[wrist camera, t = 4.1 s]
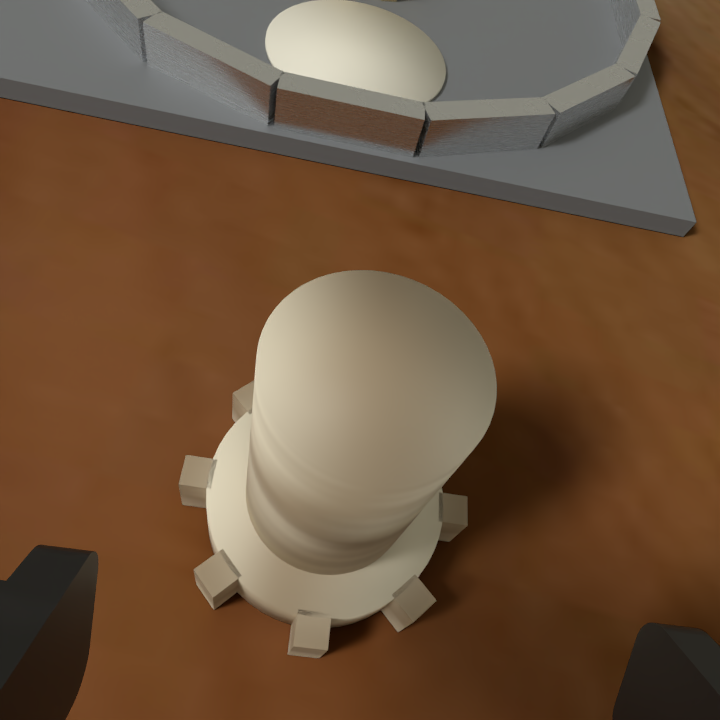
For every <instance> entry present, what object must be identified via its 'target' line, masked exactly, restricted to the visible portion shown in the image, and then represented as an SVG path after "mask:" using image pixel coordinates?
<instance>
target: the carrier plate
mask: <svg viewBox="0 0 720 720" xmlns="http://www.w3.org/2000/svg"><path fill="white" fill-rule="evenodd" d="M151 1H152V2H153V3H154V4H155V5H156V6H157V7H158V8H159V9H160V10H161V11H162V12H164V13H166V14H168V15H170V16H172V17H175V18H177V19H179V20H181V21H183V22H185V23H187V24H189V25H191V26H193V27H195V28H197V29H199V30H201V31H203V32H205V33H207V34H209V35H211V36H213V37H215V38H217V39H219V40H221V41H223V42H225V43H227V44H229V45H231V46H233V47H235V48H237V49H239V50H241V51H243V52H245V53H247V54H249V55H251V56H253V57H255V58H257V59H259V60H261V61H263V62H265V63H267V64H269V65H271V66H273V67H275V68H278V69H280V70H282V71H284V72H288V73H293V74H297V75H302V76H306V77H311V78H315V79H320V80H324V81H329V82H334V83H338V84H343V85H347V86H352V87H356V88H361V89H365V90H370V91H375V92H379V93H384V94H388V95H393V96H397V97H402V98H406V99H411V100H416V101H420V102H439V101H463V100H486V99H509V98H533V97H544V96H546V95H548V94H550V93H552V92H555V91H557V90H559V89H561V88H563V87H566V86H568V85H570V84H572V83H574V82H577V81H579V80H581V79H583V78H585V77H588V76H590V75H592V74H594V73H596V72H599V71H601V70H603V69H605V68H607V67H609V66H612V65H613V64H614V62H615V60H616V58H617V56H618V54H619V52H620V50H621V48H622V47H621V43H620V39H619V35H618V31H617V28H616V24H615V20H614V16H613V12H612V8H611V4H610V0H397V1H396V2H389V1H381V0H151ZM0 97H2V98H7V99H12V100H17V101H22V102H27V103H31V104H36V105H41V106H46V107H51V108H56V109H61V110H66V111H71V112H75V113H80V114H85V115H90V116H95V117H100V118H105V119H110V120H115V121H119V122H124V123H129V124H134V125H139V126H144V127H149V128H154V129H159V130H164V131H168V132H173V133H178V134H183V135H188V136H193V137H198V138H203V139H208V140H212V141H217V142H222V143H227V144H232V145H237V146H242V147H247V148H252V149H256V150H261V151H266V152H271V153H276V154H281V155H286V156H291V157H296V158H300V159H305V160H310V161H315V162H320V163H325V164H330V165H335V166H340V167H344V168H349V169H354V170H359V171H364V172H369V173H374V174H379V175H384V176H389V177H393V178H398V179H403V180H408V181H413V182H418V183H423V184H428V185H433V186H437V187H442V188H447V189H452V190H457V191H462V192H467V193H472V194H477V195H481V196H486V197H491V198H496V199H501V200H506V201H511V202H516V203H521V204H525V205H530V206H535V207H540V208H545V209H550V210H555V211H560V212H565V213H570V214H574V215H579V216H584V217H589V218H594V219H599V220H604V221H609V222H614V223H618V224H623V225H628V226H633V227H638V228H643V229H648V230H653V231H658V232H662V233H667V234H672V235H677V236H682V237H684V235H685V234H686V233H687V232H688V231H689V230H690V229H691V228H692V227H693V226H694V224H695V223H696V219H695V216H694V212H693V209H692V205H691V202H690V199H689V195H688V192H687V188H686V185H685V182H684V178H683V175H682V171H681V168H680V165H679V161H678V158H677V155H676V151H675V148H674V144H673V141H672V138H671V134H670V131H669V127H668V124H667V121H666V117H665V114H664V110H663V107H662V104H661V100H660V97H659V93H658V90H657V87H656V83H655V80H654V76H653V73H652V70H651V66H650V63H649V59H648V56H647V54H646V56H645V59H644V61H643V63H642V65H641V67H640V70H639V72H638V74H637V76H636V77H635V79H634V81H633V82H632V84H631V86H630V87H629V89H628V90H627V92H626V94H625V95H624V97H623V98H622V100H621V102H620V103H619V105H618V107H617V108H615V110H614V111H612V112H610V113H608V114H606V115H604V116H602V117H600V118H598V119H596V120H595V121H593V122H591V123H589V124H587V125H585V126H583V127H581V128H579V129H577V130H575V131H573V132H571V133H569V134H567V135H566V136H564V137H562V138H560V139H558V140H556V141H554V142H552V143H550V144H548V145H546V146H544V147H542V148H541V147H540V146H538V148H537V149H532V150H518V151H505V152H491V153H477V154H464V155H450V156H436V157H423V158H419V157H418V155H417V153H416V151H415V152H414V155H413V157H409V156H404V155H399V154H394V153H389V152H385V151H380V150H375V149H370V148H366V147H361V146H356V145H351V144H346V143H342V142H337V141H332V140H327V139H322V138H318V137H313V136H308V135H303V134H298V133H294V132H289V131H284V130H279V129H275V128H274V121H275V120H273V121H272V122H271V123H270V124H269V125H268V126H266V125H264V124H262V123H260V122H258V121H256V120H255V119H253V118H251V117H249V116H247V115H245V114H243V113H241V112H239V111H237V110H235V109H233V108H231V107H229V106H227V105H225V104H223V103H221V102H219V101H217V100H215V99H213V98H211V97H209V96H207V95H205V94H203V93H201V92H199V91H197V90H195V89H193V88H191V87H189V86H188V85H186V84H184V83H182V82H180V81H178V80H176V79H174V78H172V77H170V76H168V75H166V74H164V73H162V72H160V71H158V70H156V69H154V68H152V67H150V66H148V64H147V61H145V62H143V61H142V60H141V59H140V58H139V57H138V56H137V55H136V54H135V53H134V52H133V51H132V50H131V48H130V47H129V46H128V45H127V44H126V43H125V42H124V41H123V40H122V39H121V38H120V37H119V36H118V35H117V34H116V32H115V31H114V30H113V29H112V28H111V27H110V26H109V25H108V24H107V23H106V22H105V21H104V20H103V19H102V17H101V16H100V15H99V14H98V13H97V12H96V11H95V10H94V9H93V8H92V7H91V6H90V5H89V4H88V3H87V1H86V0H0Z"/></svg>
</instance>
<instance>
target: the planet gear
mask: <svg viewBox="0 0 720 720" xmlns="http://www.w3.org/2000/svg"><path fill="white" fill-rule="evenodd" d="M496 395H497V383H496V374H495V369H494V365H493V361H492V358H491V356H490V353H489V351H488V348H487V346H486V344H485V342H484V340H483V338H482V337H481V335H480V333H479V332H478V330H477V329H476V328H475V326H474V325H473V323H472V322H471V321H470V320H469V319H468V318H467V317H466V315H465V314H464V313H463V312H462V311H461V310H460V309H459V308H457V307H456V306H455V305H454V304H453V303H452V302H451V301H449V300H448V299H446V298H445V297H444V296H442V295H441V294H440V293H438V292H436V291H434V290H433V289H431V288H429V287H428V286H425V285H423V284H421V283H419V282H417V281H414V280H412V279H409V278H406V277H403V276H400V275H395V274H391V273H387V272H380V271H370V270H354V271H343V272H338V273H333V274H329V275H326V276H322V277H319V278H317V279H314V280H312V281H310V282H308V283H305V284H304V285H302V286H301V287H299V288H297V289H296V290H294V291H293V292H292V293H290V294H289V295H288V296H287V297H286V298H284V299H283V300H282V301H281V303H280V304H279V305H278V306H277V307H276V308H275V309H274V311H273V312H272V314H271V315H270V317H269V318H268V320H267V322H266V324H265V326H264V328H263V330H262V333H261V336H260V340H259V343H258V348H257V356H256V367H255V380H254V381H252V382H251V383H249V384H247V385H246V386H244V387H242V388H241V389H239V390H237V391H235V392H234V393H233V410H232V419H233V420H234V421H235V422H236V423H235V424H234V425H233V426H232V428H231V429H230V430H229V431H228V432H227V434H226V435H225V437H224V439H223V440H222V442H221V443H220V445H219V447H218V449H217V451H216V454H215V456H214V458H213V459H210V458H203V457H197V456H190V455H186V457H185V461H184V465H183V469H182V473H181V477H180V481H179V489H180V495H181V500H182V505H187V506H195V507H202V508H207V521H208V530H209V538H210V542H211V545H212V549H213V553H214V555H213V556H212V557H210V558H209V559H208V560H206V561H205V562H204V563H202V564H201V565H199V566H198V567H197V568H195V569H194V574H195V579H196V584H197V586H198V587H199V589H200V590H201V592H202V593H203V595H204V596H205V598H206V599H207V601H208V602H209V604H210V605H211V607H212V608H213V609H214V610H215V609H216V608H217V607H219V606H220V605H221V604H222V603H224V602H225V601H226V600H228V599H229V598H230V597H232V596H233V595H234V594H235V593H238V594H239V595H241V596H242V597H243V598H244V599H245V600H246V601H247V602H248V603H249V604H251V605H252V606H253V607H255V608H256V609H258V610H259V611H261V612H262V613H264V614H266V615H268V616H270V617H272V618H274V619H276V620H279V621H281V622H284V623H287V624H290V625H291V631H290V639H289V646H288V654H287V655H295V656H304V657H313V658H320V657H321V656H322V655H323V654H324V653H325V652H327V651H328V644H329V634H330V628H334V627H341V626H345V625H349V624H353V623H356V622H358V621H361V620H363V619H366V618H368V617H370V616H371V615H373V614H375V613H377V612H378V611H380V610H381V611H382V612H383V614H384V615H385V616H386V618H387V619H388V620H389V621H390V623H391V624H392V625H393V627H394V628H395V629H396V630H397V632H399V631H401V630H402V629H404V628H405V627H407V626H409V625H410V624H412V623H413V622H414V621H416V620H417V619H418V618H419V617H420V616H421V615H422V614H423V613H424V612H425V611H426V610H427V609H428V608H429V607H430V606H431V605H432V604H434V603H435V602H436V601H437V600H436V599H435V598H434V597H433V595H432V594H431V593H430V592H429V591H428V589H427V588H426V587H425V586H424V584H423V583H422V582H421V581H420V579H419V578H418V577H419V575H420V574H421V572H422V571H423V570H424V568H425V567H426V565H427V564H428V562H429V560H430V558H431V556H432V554H433V552H434V550H435V547H436V545H437V542H438V540H440V541H447V542H450V541H451V540H452V539H453V538H454V537H455V536H456V535H458V534H459V533H460V532H461V531H462V530H463V529H464V528H465V527H467V526H468V507H467V496H461V495H454V494H447V493H443V491H442V486H443V485H444V484H445V483H446V481H447V480H448V479H449V478H450V477H451V476H452V474H453V473H454V472H455V471H456V470H457V468H458V467H459V466H460V465H461V464H462V463H463V461H464V460H465V459H466V458H467V457H468V456H469V454H470V453H471V452H472V451H473V450H474V448H475V447H476V446H477V445H478V443H479V442H480V441H481V439H482V438H483V436H484V435H485V433H486V431H487V429H488V427H489V425H490V422H491V419H492V417H493V414H494V409H495V404H496Z"/></svg>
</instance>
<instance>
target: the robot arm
mask: <svg viewBox="0 0 720 720" xmlns="http://www.w3.org/2000/svg"><path fill="white" fill-rule="evenodd" d="M97 573H98V555H97V553H96V552H94V551H87V550H79V549H71V548H63V547H55V546H47V545H38V546H36V547H35V548H34V549H33V550H32V551H31V552H30V553H29V554H28V556H27V557H26V558H25V559H24V560H23V562H22V563H21V564H20V565H19V566H18V568H17V569H16V570H15V571H14V572H13V574H12V575H11V576H10V577H9V578H8V579H7V581H3V580H0V720H65V719H66V717H67V715H68V713H69V711H70V709H71V707H72V705H73V703H74V701H75V699H76V696H77V694H78V691H79V688H80V686H81V682H82V679H83V676H84V672H85V668H86V664H87V660H88V655H89V648H90V639H91V629H92V620H93V611H94V601H95V592H96V582H97ZM612 720H720V647H719V646H718V644H717V643H716V642H715V641H714V640H713V639H712V638H711V637H710V636H709V635H708V634H707V633H706V632H704V631H703V630H701V629H698V628H691V627H683V626H675V625H667V624H659V623H648V624H646V625H644V626H643V627H642V628H641V629H640V631H639V633H638V635H637V638H636V641H635V644H634V647H633V650H632V653H631V656H630V659H629V662H628V665H627V669H626V672H625V675H624V678H623V681H622V684H621V687H620V690H619V693H618V696H617V699H616V702H615V706H614V710H613V719H612Z"/></svg>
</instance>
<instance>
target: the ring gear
mask: <svg viewBox="0 0 720 720" xmlns="http://www.w3.org/2000/svg"><path fill="white" fill-rule="evenodd" d="M86 1H87V3H88V4H89V5H90V6H91V7H92V8H93V9H94V10H95V11H96V12H97V13H98V14H99V15H100V16H101V17H102V19H103V20H104V21H105V22H106V23H107V24H108V25H109V26H110V27H111V28H112V29H113V30H114V31H115V32H116V34H117V35H118V36H119V37H120V38H121V39H122V40H123V41H124V42H125V43H126V44H127V45H128V46H129V47H130V48H131V50H132V51H133V52H134V53H135V54H136V55H137V56H138V57H139V58H140V59H141V60H142V61H143V62H145V61H147V64H148V66H150V67H152V68H154V69H156V70H158V71H160V72H162V73H164V74H166V75H168V76H170V77H172V78H174V79H176V80H178V81H180V82H182V83H184V84H186V85H188V86H189V87H191V88H193V89H195V90H197V91H199V92H201V93H203V94H205V95H207V96H209V97H211V98H213V99H215V100H217V101H219V102H221V103H223V104H225V105H227V106H229V107H231V108H233V109H235V110H237V111H239V112H241V113H243V114H245V115H247V116H249V117H251V118H253V119H255V120H256V121H258V122H260V123H262V124H264V125H266V126H268V125H269V124H270V123H271V122H272V121H273V120H275V121H274V128H275V129H279V130H284V131H289V132H294V133H298V134H303V135H308V136H313V137H318V138H322V139H327V140H332V141H337V142H342V143H346V144H351V145H356V146H361V147H366V148H370V149H375V150H380V151H385V152H389V153H394V154H399V155H404V156H409V157H413V155H414V152H415V151H416V153H417V155H418V157H419V158H423V157H436V156H450V155H464V154H477V153H491V152H505V151H518V150H532V149H537V148H538V146H540V147H541V148H542V147H544V146H546V145H548V144H550V143H552V142H554V141H556V140H558V139H560V138H562V137H564V136H566V135H567V134H569V133H571V132H573V131H575V130H577V129H579V128H581V127H583V126H585V125H587V124H589V123H591V122H593V121H595V120H596V119H598V118H600V117H602V116H604V115H606V114H608V113H610V112H612V111H614V110H615V108H617V107H618V105H619V103H620V102H621V100H622V98H623V97H624V95H625V94H626V92H627V90H628V89H629V87H630V86H631V84H632V82H633V81H634V79H635V77H636V76H637V74H638V72H639V70H640V67H641V65H642V63H643V61H644V59H645V56H646V54H647V52H648V50H649V47H650V45H651V43H652V41H653V39H654V36H655V34H656V32H657V30H658V27H659V25H660V20H661V19H660V16H659V13H658V10H657V7H656V4H655V1H654V0H610V4H611V8H612V12H613V16H614V20H615V24H616V28H617V31H618V35H619V39H620V43H621V47H622V48H621V50H620V52H619V54H618V56H617V58H616V60H615V62H614V64H613V65H612V66H609V67H607V68H605V69H603V70H601V71H599V72H596V73H594V74H592V75H590V76H588V77H585V78H583V79H581V80H579V81H577V82H574V83H572V84H570V85H568V86H566V87H563V88H561V89H559V90H557V91H555V92H552V93H550V94H548V95H546V96H544V97H533V98H509V99H486V100H463V101H439V102H420V101H416V100H411V99H406V98H402V97H397V96H393V95H388V94H384V93H379V92H375V91H370V90H365V89H361V88H356V87H352V86H347V85H343V84H338V83H334V82H329V81H324V80H320V79H315V78H311V77H306V76H302V75H297V74H293V73H288V72H284V71H282V70H280V69H278V68H275V67H273V66H271V65H269V64H267V63H265V62H263V61H261V60H259V59H257V58H255V57H253V56H251V55H249V54H247V53H245V52H243V51H241V50H239V49H237V48H235V47H233V46H231V45H229V44H227V43H225V42H223V41H221V40H219V39H217V38H215V37H213V36H211V35H209V34H207V33H205V32H203V31H201V30H199V29H197V28H195V27H193V26H191V25H189V24H187V23H185V22H183V21H181V20H179V19H177V18H175V17H172V16H170V15H168V14H166V13H164V12H162V11H161V10H160V9H159V8H158V7H157V6H156V5H155V4H154V3H153V2H152V1H151V0H86Z"/></svg>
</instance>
